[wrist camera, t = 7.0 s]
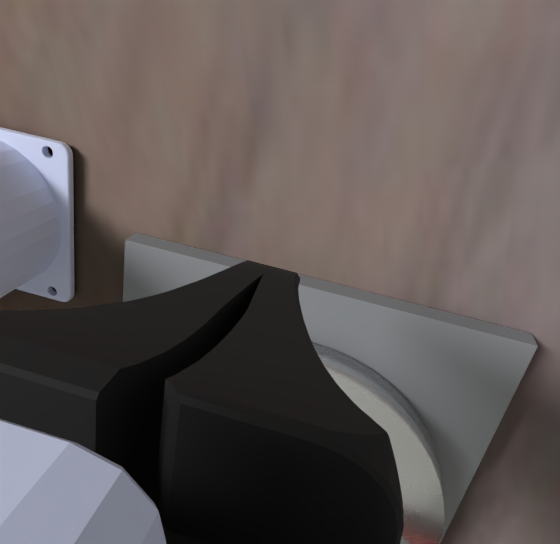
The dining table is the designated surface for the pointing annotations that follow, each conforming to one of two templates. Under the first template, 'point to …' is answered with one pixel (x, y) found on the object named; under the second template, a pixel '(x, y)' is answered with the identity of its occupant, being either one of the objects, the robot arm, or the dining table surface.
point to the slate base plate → (384, 350)
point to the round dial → (397, 444)
